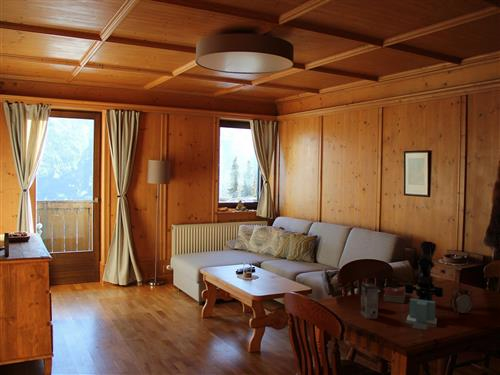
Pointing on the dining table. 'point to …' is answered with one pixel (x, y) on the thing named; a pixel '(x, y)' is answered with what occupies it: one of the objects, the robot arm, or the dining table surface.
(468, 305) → the alarm clock
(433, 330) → the dining table surface
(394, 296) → the hardcover book
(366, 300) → the coffee box
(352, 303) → the dining table surface
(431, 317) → the T block
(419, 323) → the mat
